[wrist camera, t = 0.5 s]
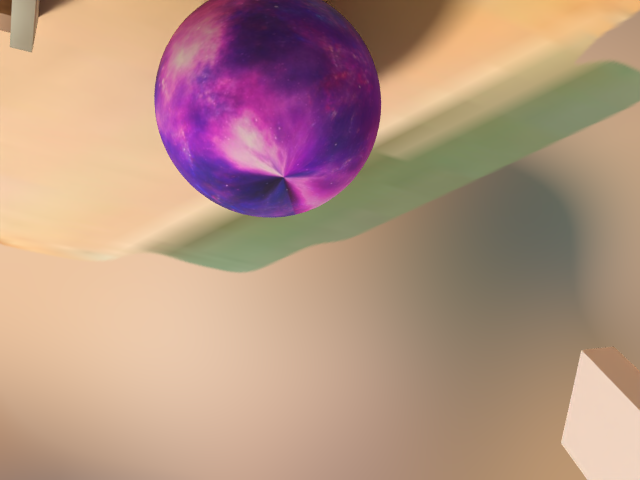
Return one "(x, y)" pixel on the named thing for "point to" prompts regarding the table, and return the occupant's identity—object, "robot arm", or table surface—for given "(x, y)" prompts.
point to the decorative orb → (267, 104)
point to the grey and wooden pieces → (20, 22)
